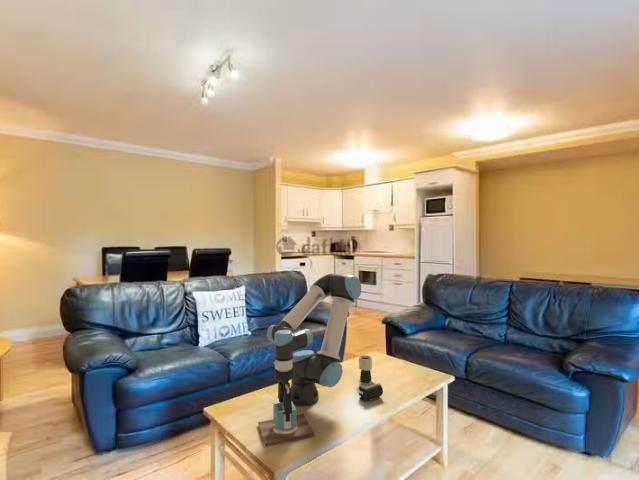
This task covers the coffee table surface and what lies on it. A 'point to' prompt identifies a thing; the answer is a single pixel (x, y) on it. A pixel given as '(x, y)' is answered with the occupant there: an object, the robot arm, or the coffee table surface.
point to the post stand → (284, 431)
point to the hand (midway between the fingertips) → (285, 422)
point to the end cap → (370, 391)
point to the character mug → (365, 367)
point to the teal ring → (280, 416)
